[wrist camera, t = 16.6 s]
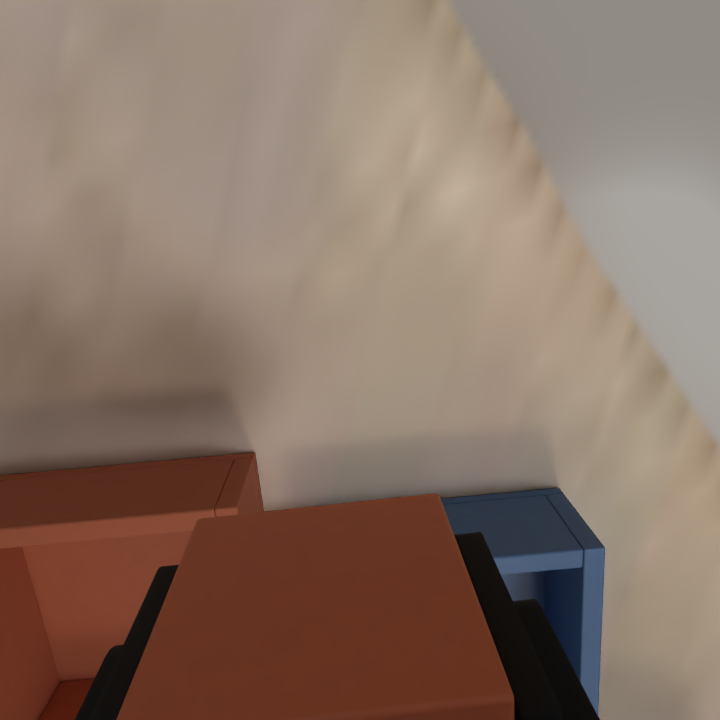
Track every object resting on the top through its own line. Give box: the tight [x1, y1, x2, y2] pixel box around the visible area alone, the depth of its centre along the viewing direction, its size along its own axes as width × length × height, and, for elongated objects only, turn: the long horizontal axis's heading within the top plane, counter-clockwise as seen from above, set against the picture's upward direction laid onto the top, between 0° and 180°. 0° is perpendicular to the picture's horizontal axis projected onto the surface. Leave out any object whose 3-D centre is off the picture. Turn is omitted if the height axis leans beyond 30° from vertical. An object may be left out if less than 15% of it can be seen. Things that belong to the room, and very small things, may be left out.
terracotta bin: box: [0, 452, 264, 720], centre depth 23 cm, size 11×11×4 cm
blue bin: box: [441, 488, 605, 715], centre depth 24 cm, size 11×11×4 cm
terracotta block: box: [116, 494, 515, 720], centre depth 9 cm, size 4×4×4 cm
